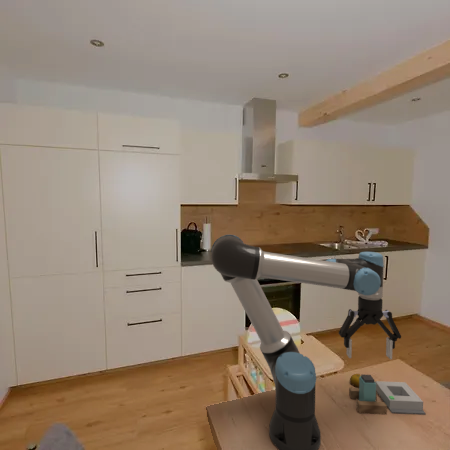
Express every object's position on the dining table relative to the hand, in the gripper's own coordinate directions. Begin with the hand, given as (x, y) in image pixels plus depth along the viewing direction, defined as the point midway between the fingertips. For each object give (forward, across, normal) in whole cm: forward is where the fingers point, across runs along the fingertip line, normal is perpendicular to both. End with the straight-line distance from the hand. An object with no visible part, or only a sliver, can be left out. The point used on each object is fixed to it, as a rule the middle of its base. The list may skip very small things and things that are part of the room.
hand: (368, 356), depth 101 cm
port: (+17, +12, +3) cm, 21 cm away
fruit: (+18, +3, +11) cm, 21 cm away
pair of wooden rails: (+17, 0, 0) cm, 17 cm away
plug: (+17, 0, 0) cm, 17 cm away
